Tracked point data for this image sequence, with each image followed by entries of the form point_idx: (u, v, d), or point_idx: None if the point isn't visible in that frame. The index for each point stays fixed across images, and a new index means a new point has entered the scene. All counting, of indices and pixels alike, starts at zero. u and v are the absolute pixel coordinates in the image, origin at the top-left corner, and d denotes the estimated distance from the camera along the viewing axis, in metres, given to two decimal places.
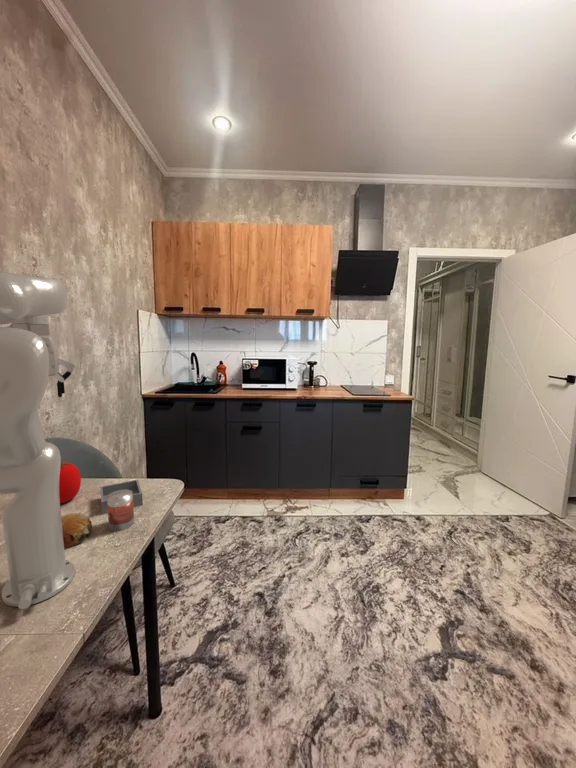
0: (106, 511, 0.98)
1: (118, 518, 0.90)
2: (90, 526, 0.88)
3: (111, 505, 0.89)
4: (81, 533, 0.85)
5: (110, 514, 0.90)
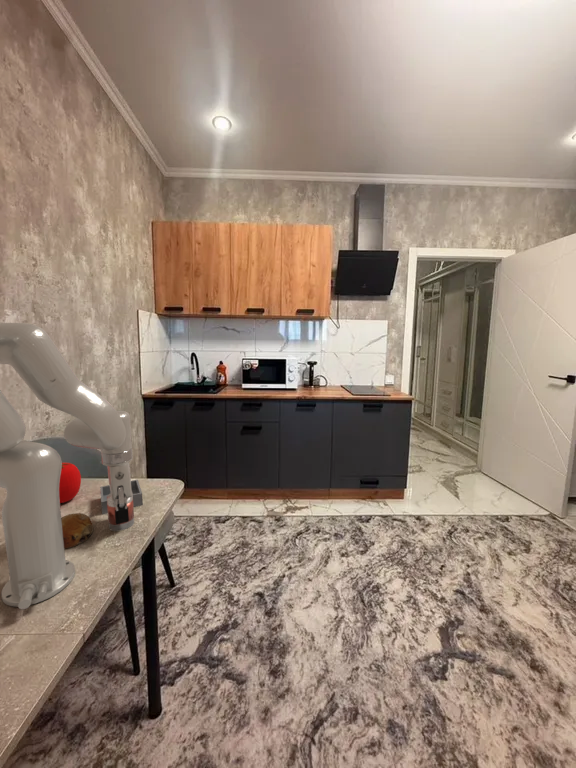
0: (106, 511, 0.98)
1: None
2: (91, 526, 0.88)
3: (111, 505, 0.89)
4: (82, 533, 0.84)
5: (110, 514, 0.90)
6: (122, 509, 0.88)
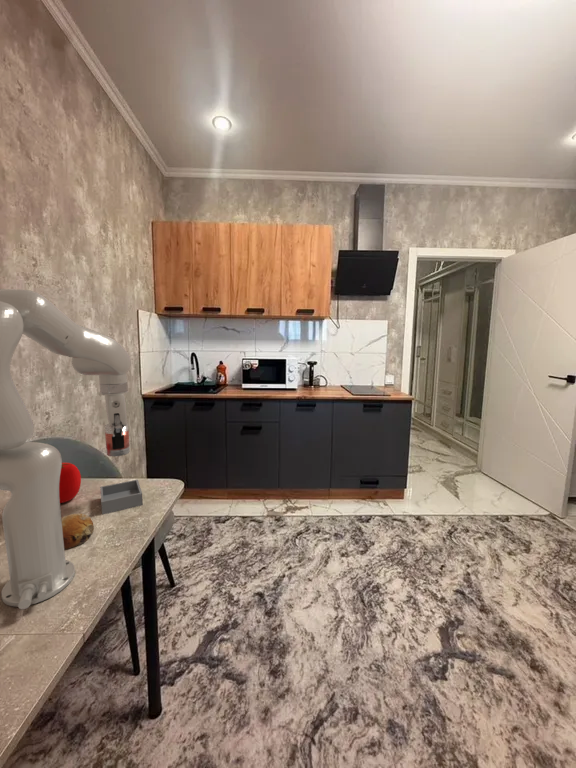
0: (106, 511, 0.98)
1: None
2: (92, 527, 0.88)
3: (109, 432, 0.99)
4: (83, 534, 0.84)
5: (108, 441, 0.99)
6: (118, 435, 0.98)
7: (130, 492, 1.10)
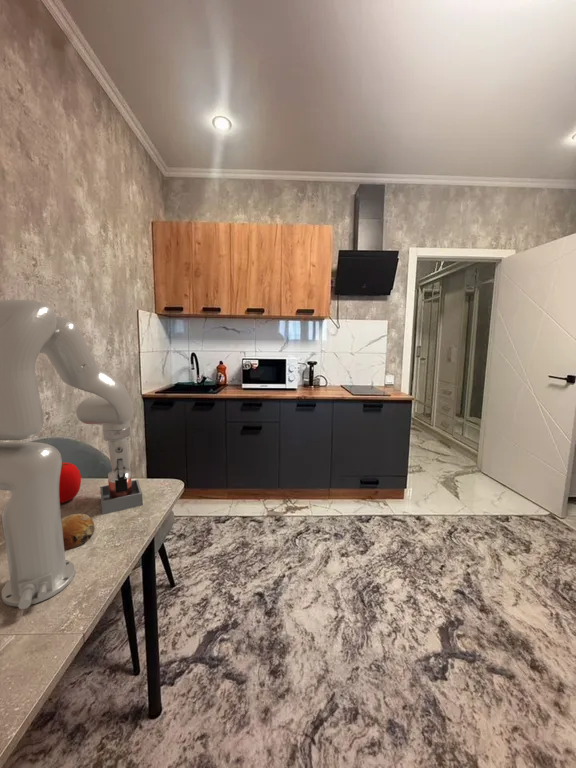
0: (106, 511, 0.98)
1: (118, 492, 1.01)
2: (93, 527, 0.88)
3: (112, 481, 1.01)
4: (84, 534, 0.84)
5: (111, 489, 1.01)
6: (121, 478, 0.99)
7: None
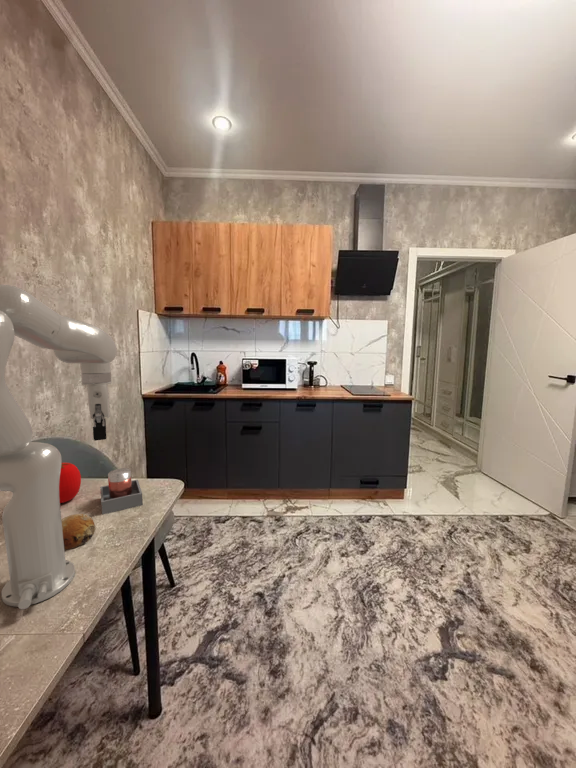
0: (106, 511, 0.98)
1: (118, 492, 1.02)
2: (93, 527, 0.88)
3: (112, 480, 1.01)
4: (84, 534, 0.84)
5: (111, 489, 1.02)
6: (99, 424, 0.92)
7: None
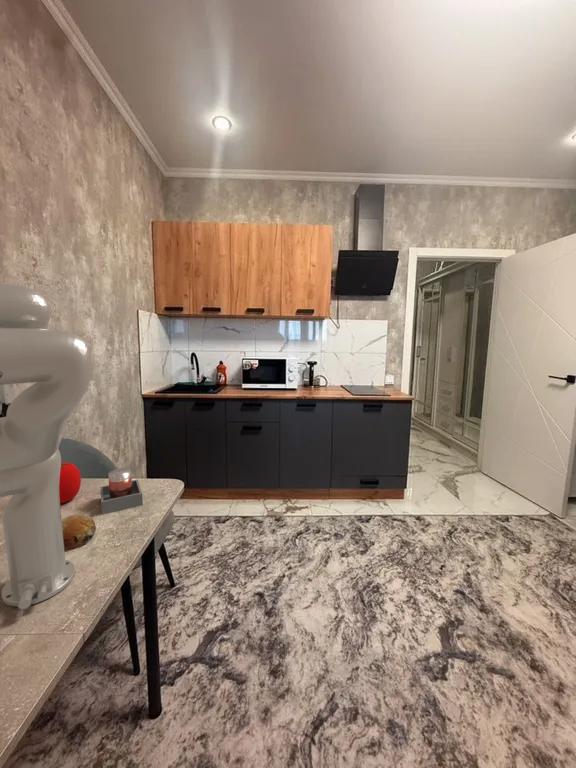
0: (106, 511, 0.98)
1: (119, 492, 1.02)
2: (94, 527, 0.88)
3: (112, 480, 1.01)
4: (85, 534, 0.84)
5: (111, 489, 1.02)
6: None
7: None
